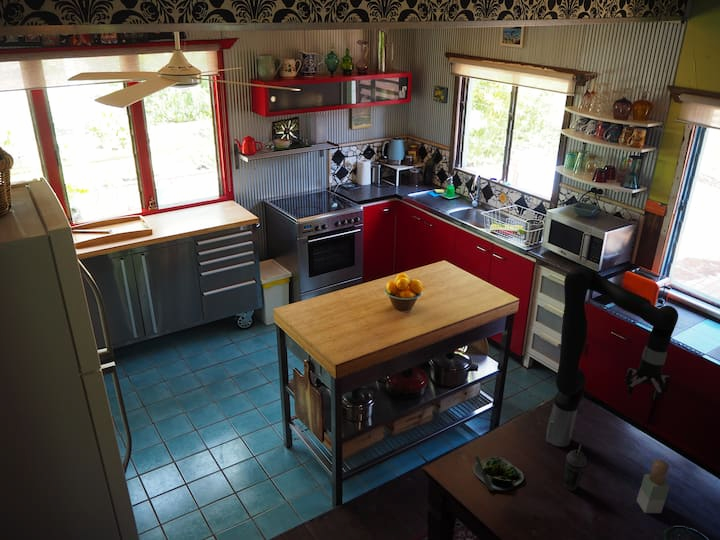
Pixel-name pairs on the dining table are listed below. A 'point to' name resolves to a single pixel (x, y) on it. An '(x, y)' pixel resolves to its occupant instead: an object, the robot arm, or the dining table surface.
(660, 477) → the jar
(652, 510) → the base block
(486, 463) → the salad plate
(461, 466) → the dining table surface
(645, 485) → the mid block
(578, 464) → the beverage cup
